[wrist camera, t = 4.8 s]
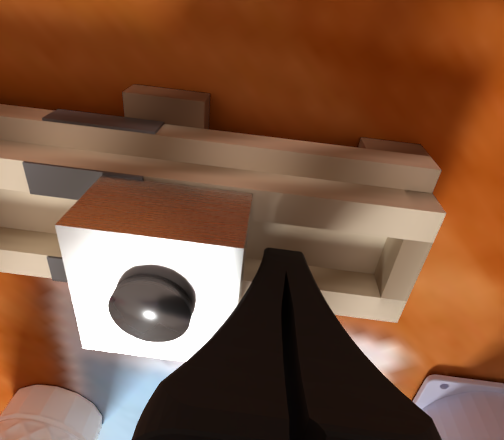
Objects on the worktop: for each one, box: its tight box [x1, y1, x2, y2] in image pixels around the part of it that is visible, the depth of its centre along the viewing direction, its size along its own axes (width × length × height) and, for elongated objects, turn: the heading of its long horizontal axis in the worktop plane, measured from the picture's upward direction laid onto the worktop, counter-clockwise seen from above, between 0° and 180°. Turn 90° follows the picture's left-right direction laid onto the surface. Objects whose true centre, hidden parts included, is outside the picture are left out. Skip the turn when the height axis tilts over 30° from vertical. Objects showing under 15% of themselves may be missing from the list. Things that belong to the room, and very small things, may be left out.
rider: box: [55, 175, 253, 362], centre depth 13 cm, size 5×5×5 cm
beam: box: [0, 84, 446, 323], centre depth 15 cm, size 20×9×4 cm, turn 84°
